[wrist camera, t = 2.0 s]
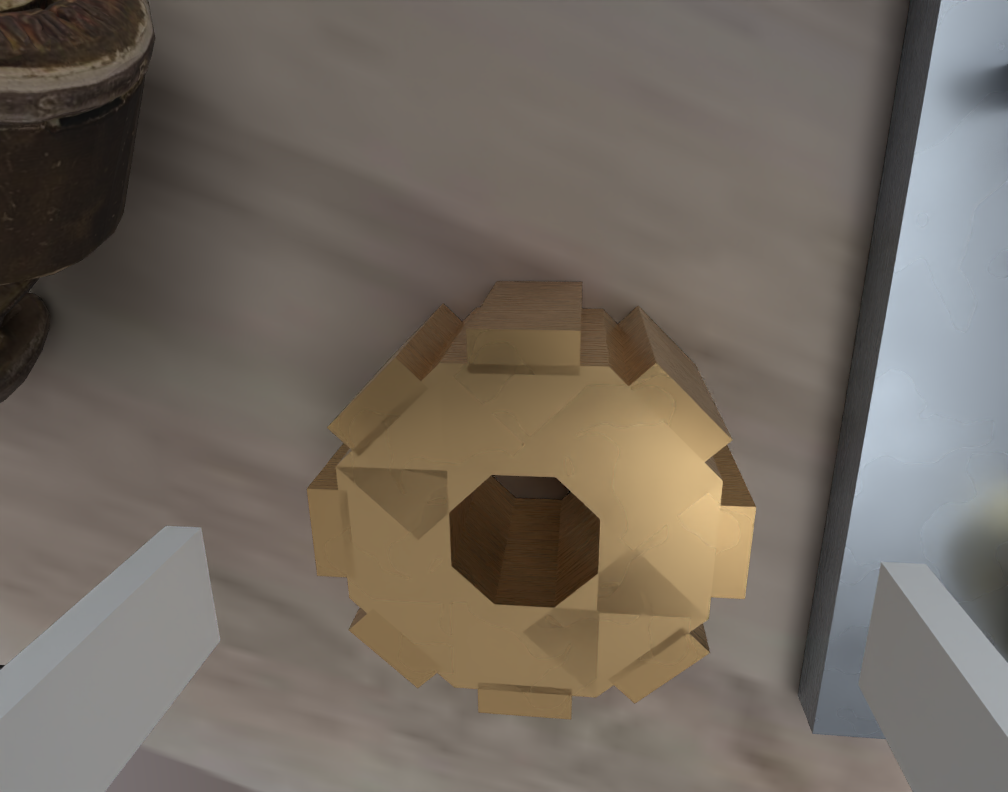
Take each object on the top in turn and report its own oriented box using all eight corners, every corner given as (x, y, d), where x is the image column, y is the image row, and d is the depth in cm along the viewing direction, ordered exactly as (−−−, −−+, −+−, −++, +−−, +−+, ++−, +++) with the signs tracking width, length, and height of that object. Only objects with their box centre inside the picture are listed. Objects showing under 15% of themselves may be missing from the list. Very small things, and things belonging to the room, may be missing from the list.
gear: (362, 279, 19) (286, 326, 14) (726, 282, 18) (776, 333, 13) (387, 581, 22) (332, 702, 17) (696, 598, 21) (728, 731, 16)
